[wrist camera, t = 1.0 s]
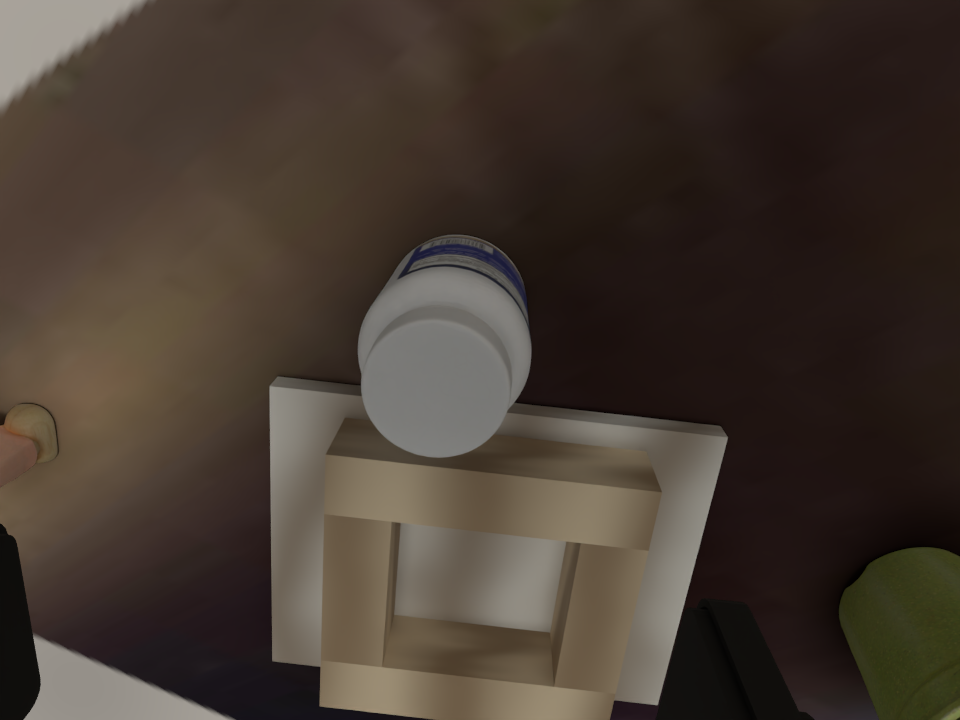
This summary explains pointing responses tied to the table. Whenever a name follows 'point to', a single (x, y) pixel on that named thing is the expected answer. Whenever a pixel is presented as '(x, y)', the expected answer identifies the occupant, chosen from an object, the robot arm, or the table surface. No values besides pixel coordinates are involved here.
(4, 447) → the grandmother figurine
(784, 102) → the table surface
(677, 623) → the frame
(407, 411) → the pill bottle
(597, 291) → the table surface
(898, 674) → the plant pot
